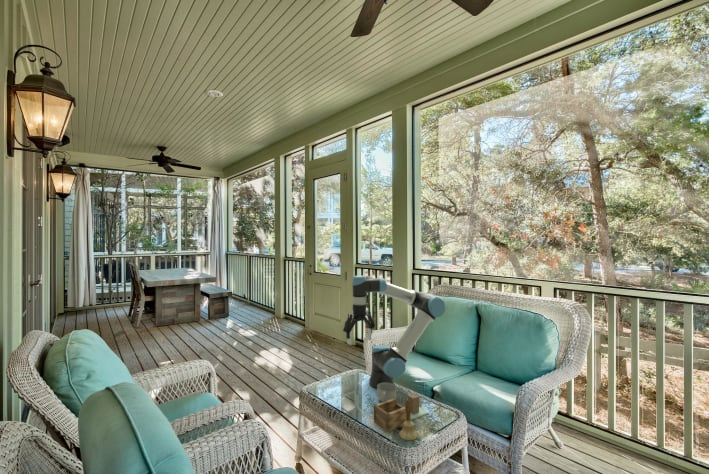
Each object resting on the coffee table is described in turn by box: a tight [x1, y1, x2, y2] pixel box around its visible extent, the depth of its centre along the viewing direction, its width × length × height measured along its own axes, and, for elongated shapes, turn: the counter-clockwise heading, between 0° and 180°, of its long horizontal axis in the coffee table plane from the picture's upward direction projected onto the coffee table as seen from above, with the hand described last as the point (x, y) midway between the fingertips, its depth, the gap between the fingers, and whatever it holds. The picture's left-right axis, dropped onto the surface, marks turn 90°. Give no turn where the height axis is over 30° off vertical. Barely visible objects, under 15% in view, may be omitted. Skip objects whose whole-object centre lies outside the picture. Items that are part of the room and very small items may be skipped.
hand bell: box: [398, 399, 418, 441], centre depth 156 cm, size 8×8×16 cm
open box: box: [373, 397, 412, 432], centre depth 167 cm, size 14×11×8 cm
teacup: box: [376, 382, 398, 403], centre depth 186 cm, size 14×11×8 cm
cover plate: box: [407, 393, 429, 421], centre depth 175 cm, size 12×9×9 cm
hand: (359, 342), depth 189 cm, fingers open, 13 cm apart
